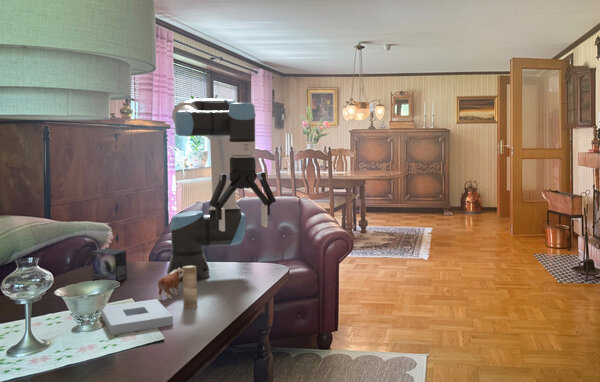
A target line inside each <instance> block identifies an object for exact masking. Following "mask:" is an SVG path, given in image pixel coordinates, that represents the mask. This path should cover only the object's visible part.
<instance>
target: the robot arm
mask: <svg viewBox="0 0 600 382" xmlns="http://www.w3.org/2000/svg"><path fill="white" fill-rule="evenodd" d="M255 109H256V108H255V104H254V103H251V102H237V101H236V100H234V99H229V98H228V99H227V98H192V99H187V100H184V101H181V102H179V103H177V104H176V106H175V107H174V108H173V110H172V114H171V115H172V116H171V117H172V121H173V123H174V129H175V135H176V136H178V137H179V136H180V137H198V136H199V137H200V136H201V137H202V136H203V137H206V138H207V139H208V140H209V144H210V147H209V149H210V165H211V166H210V167H211V168H210V169H211V170H210V171H211V192H212V193H211V194H212V196H211V198H210V201H209V203H208V205H209V206H210V207H209V208H208V214H205V213H204V211H202V210H190V211H184V212H180V213H177V214H175V215H173V216H172V217H171V218H170V243H171V245H170V246H171V247H170V248H171V250H170V251H171V254H170V255H171V256H170V260H169V263H168V266H167V270H166V274H167V275H168V274H169V273H171V272H172V271H173V270H174V269H178V268H181V269H182V270H183V267H184V266H196V278H197V281H199V280H202V279H206V278H208V277H210V267H209V263H208V262H207V258H206V256H205V247H206V248H207V247H225V246H226V247H227V246H229V247H230V246H235V245H236V246H237V245H240V244H241V243H242V242H243V240H244V237H245V233H246V222H247V221H246V214H245V213H244V212H242V211H241V207H240V206H239V205H238V204H237V197H236V190H237V189H239V190H241V189H251V190H252V191H253V193H254V194H255V195H256V196H257V197H258V198H259V200H260V201H261V202H262V203H263V204H260V216H261V217H260V219H261V220H260V223H261V224H260V225H261V227H264V228H268V216H270V215H271V212H270V211H271V210H270V209H271V207H270V206H271V205H272V204H274V203H276V202H277V200H276V197H275V195H274V193H273V191H272V189H271V187H270V184H269V183H268V181H267V176H266V175H267V174H266V172H264V171H259V172H257V173H256V170H257V167H256V164H257V163H256V157H254V156H255V155H256V116H257V115H256V110H255ZM256 180H259V183H260V185H261V187H262V190H263V191H264V193H263V191H262V190H261V188H259V186H258V184H257V183H256V182H255V181H256ZM167 275H166V276H167ZM179 282H183V276H182V277H181V278H179Z"/></svg>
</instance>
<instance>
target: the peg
mask: <svg viewBox="0 0 600 382" xmlns="http://www.w3.org/2000/svg"><path fill="white" fill-rule="evenodd" d="M197 281H198V280H197V278H196V266H184V267H183V281H182V291H183V292H182V294H183V297H182V298H183V300H182V301H183V308H184V309H188V310H189V309H195V308H197V307H198V284H197Z"/></svg>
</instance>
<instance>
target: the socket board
mask: <svg viewBox="0 0 600 382" xmlns="http://www.w3.org/2000/svg"><path fill="white" fill-rule="evenodd" d="M100 316H101V318H102V320H103V322H104V321H105V322H104V324H105V323H106V324H105V325H107V326H106V327H107V329H108V331H109V333H110V335H111V336H113V335H114V336H115V335H120V333H121V334H125V333H133V332H139V331H144V330H150V329H156V328H158V329H159V328H162V327H163V328H165V327H169V326H174V316H173V314H171V313H170V312H169V311H168V309H167V308H166V307H165V306H164V305H163V304H162V303H161V301H160V300H159V299H157V298H155V299H149V300H148V299H147V300H141V301H134V302H127V303H119V304H112V305H105V308H104V309H103V310H102V311H101V310H100Z"/></svg>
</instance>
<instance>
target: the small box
mask: <svg viewBox="0 0 600 382" xmlns="http://www.w3.org/2000/svg"><path fill="white" fill-rule="evenodd" d="M91 261H92V279H93V278H95V279H109V280H116V281H120V282H122V281H124V280H127V279H128V273H127V272H128V270H127V268H128V267H127V266H128V265H127V250H125V249H116V248H105V247H103V248H100V249H96V250H94V251H91Z"/></svg>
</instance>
